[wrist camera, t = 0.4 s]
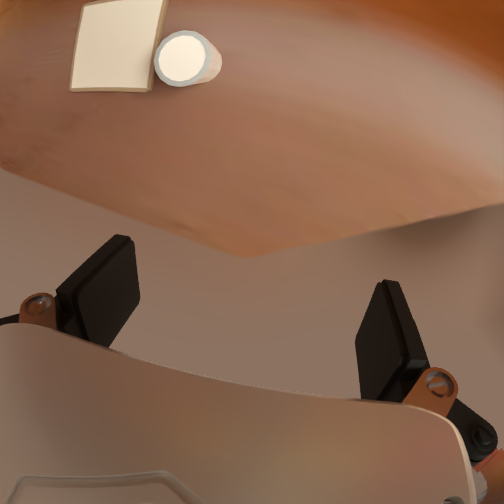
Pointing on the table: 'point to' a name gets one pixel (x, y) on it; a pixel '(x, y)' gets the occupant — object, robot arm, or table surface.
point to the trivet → (117, 45)
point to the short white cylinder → (186, 59)
